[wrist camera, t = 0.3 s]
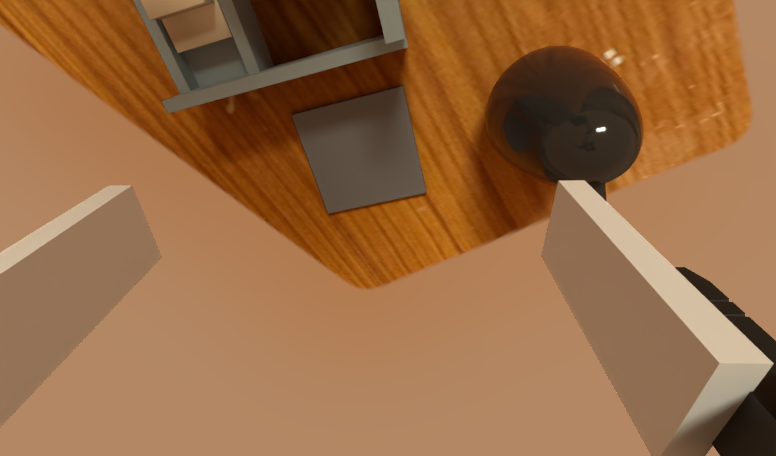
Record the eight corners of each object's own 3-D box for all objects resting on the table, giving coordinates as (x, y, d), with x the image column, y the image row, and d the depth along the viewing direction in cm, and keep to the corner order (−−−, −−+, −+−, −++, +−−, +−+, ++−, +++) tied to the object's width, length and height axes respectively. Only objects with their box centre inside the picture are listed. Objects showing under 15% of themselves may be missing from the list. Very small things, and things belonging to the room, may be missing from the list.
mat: (292, 114, 36) (291, 115, 36) (402, 85, 35) (402, 86, 34) (329, 211, 42) (328, 213, 41) (426, 190, 40) (426, 192, 40)
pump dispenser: (485, 166, 39) (527, 248, 25) (470, 59, 33) (514, 92, 20) (589, 143, 37) (691, 217, 24) (590, 27, 32) (721, 41, 19)
